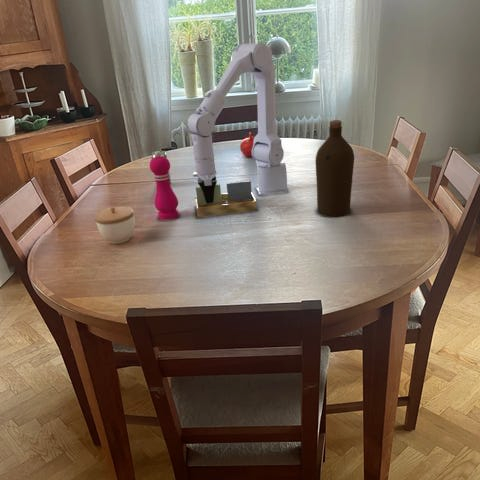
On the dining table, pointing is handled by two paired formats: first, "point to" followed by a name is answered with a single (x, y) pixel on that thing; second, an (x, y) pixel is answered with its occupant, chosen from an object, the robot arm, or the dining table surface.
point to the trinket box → (116, 224)
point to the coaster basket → (226, 206)
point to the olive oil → (334, 173)
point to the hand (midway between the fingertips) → (209, 201)
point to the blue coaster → (239, 191)
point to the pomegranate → (247, 145)
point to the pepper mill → (163, 188)
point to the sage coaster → (201, 197)
